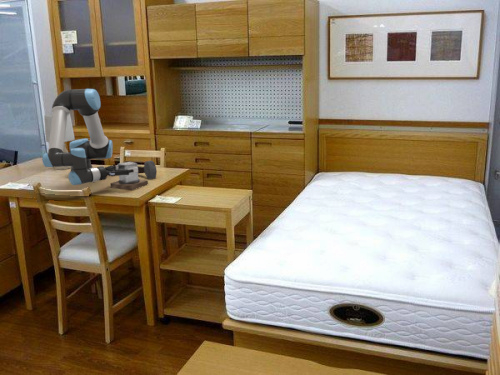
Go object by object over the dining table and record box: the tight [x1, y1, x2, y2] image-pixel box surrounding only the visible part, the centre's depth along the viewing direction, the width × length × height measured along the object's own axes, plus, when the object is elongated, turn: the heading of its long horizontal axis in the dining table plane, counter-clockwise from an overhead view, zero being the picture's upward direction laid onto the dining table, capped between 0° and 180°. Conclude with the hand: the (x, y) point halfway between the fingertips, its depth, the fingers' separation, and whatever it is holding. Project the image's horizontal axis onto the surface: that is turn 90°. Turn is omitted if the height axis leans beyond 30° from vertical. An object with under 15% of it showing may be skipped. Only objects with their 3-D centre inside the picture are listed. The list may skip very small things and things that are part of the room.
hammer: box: [137, 160, 157, 180], centre depth 314 cm, size 5×11×30 cm
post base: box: [110, 178, 149, 191], centre depth 288 cm, size 14×16×9 cm
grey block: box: [117, 161, 139, 183], centre depth 287 cm, size 8×8×10 cm
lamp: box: [43, 113, 76, 171], centre depth 339 cm, size 19×19×37 cm
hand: (131, 167), depth 288 cm, fingers open, 13 cm apart
